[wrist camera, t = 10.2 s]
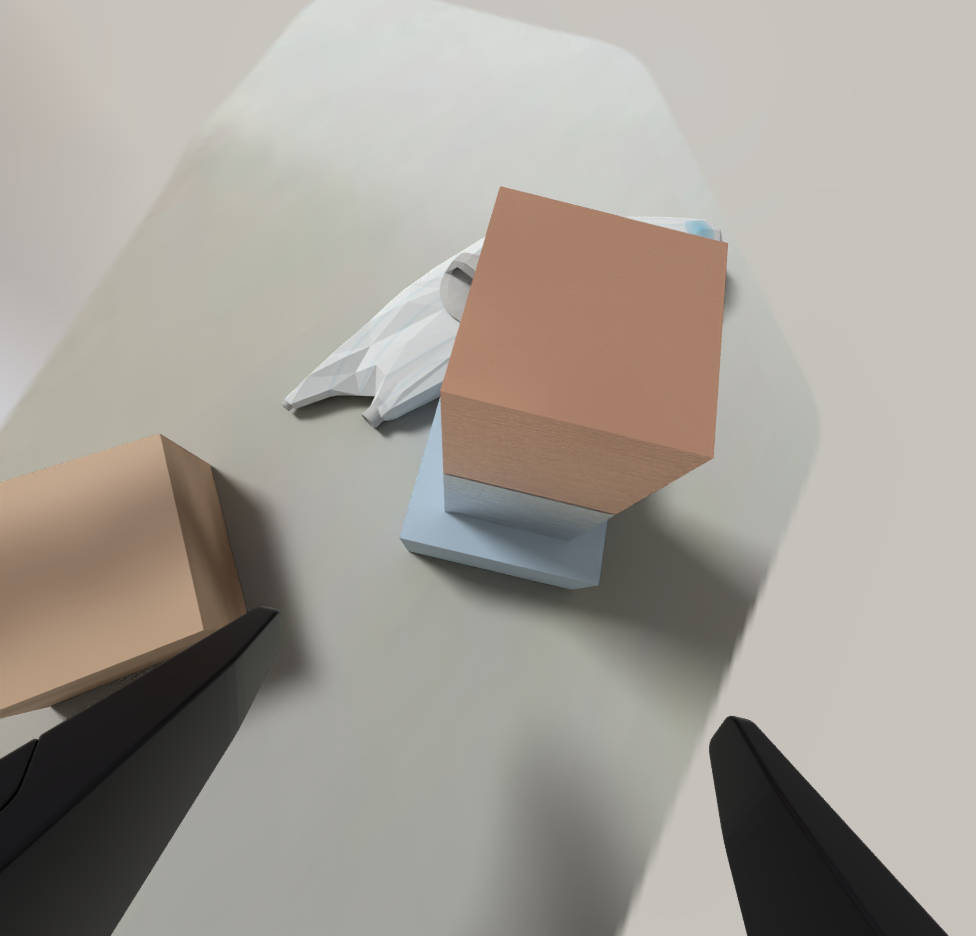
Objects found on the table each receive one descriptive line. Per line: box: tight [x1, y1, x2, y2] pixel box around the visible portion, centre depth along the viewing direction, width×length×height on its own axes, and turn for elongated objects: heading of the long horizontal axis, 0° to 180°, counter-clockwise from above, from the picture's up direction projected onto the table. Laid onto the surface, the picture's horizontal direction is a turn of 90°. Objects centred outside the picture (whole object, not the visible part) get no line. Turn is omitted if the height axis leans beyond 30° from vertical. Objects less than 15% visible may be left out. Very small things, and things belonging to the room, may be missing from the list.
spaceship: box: [281, 217, 722, 428], centre depth 21 cm, size 23×7×4 cm, turn 114°
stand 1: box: [0, 434, 247, 718], centre depth 16 cm, size 7×7×4 cm
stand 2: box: [400, 399, 608, 590], centre depth 18 cm, size 7×7×4 cm
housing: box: [440, 186, 728, 542], centre depth 12 cm, size 4×4×9 cm
